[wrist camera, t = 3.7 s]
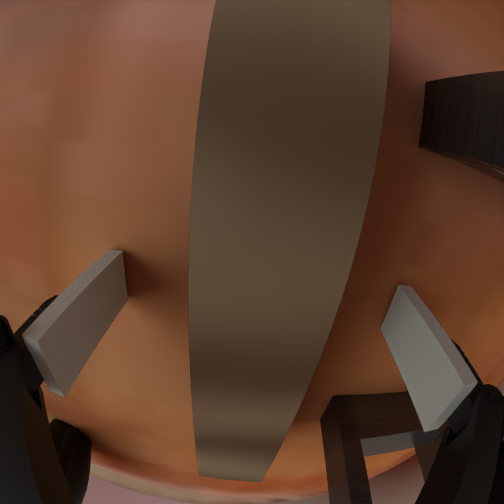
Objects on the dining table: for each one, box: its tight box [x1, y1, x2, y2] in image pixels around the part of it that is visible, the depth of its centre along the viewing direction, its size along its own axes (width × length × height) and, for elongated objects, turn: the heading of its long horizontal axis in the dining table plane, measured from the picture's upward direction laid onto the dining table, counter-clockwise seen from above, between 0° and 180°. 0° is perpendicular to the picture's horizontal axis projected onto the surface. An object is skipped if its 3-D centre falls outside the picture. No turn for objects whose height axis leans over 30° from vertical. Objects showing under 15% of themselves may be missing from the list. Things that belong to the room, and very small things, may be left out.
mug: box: [49, 419, 92, 504], centre depth 18 cm, size 8×12×10 cm
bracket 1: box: [320, 392, 449, 504], centre depth 12 cm, size 3×8×10 cm, turn 83°
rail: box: [189, 0, 391, 482], centre depth 11 cm, size 24×4×5 cm, turn 173°
